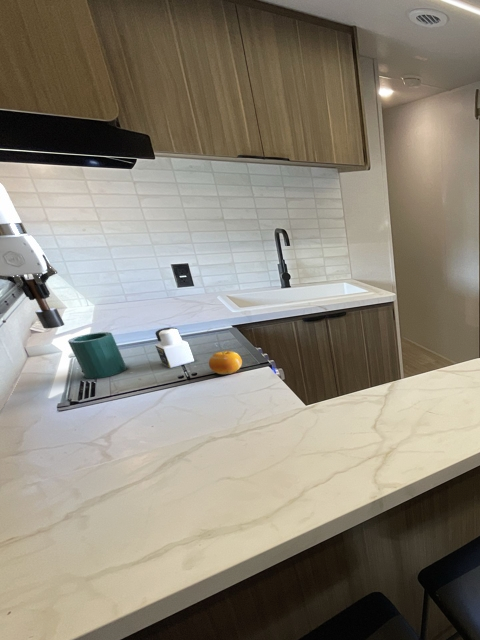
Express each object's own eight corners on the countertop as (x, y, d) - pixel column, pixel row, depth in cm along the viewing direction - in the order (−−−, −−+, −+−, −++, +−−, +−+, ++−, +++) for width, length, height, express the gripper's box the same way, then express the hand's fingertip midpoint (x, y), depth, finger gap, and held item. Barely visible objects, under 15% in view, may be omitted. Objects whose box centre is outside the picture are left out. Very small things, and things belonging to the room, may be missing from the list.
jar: (76, 378, 126) (58, 342, 121) (106, 366, 135) (90, 332, 130) (106, 378, 126) (90, 342, 121) (134, 366, 135) (120, 332, 130)
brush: (39, 328, 117) (13, 280, 111) (54, 324, 121) (30, 277, 115) (53, 328, 117) (28, 280, 111) (68, 323, 121) (45, 277, 115)
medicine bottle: (162, 363, 136) (148, 330, 131) (186, 357, 142) (174, 324, 137) (170, 368, 132) (156, 333, 128) (194, 361, 138) (182, 328, 133)
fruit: (251, 358, 130) (229, 340, 126) (232, 376, 124) (209, 359, 120) (240, 365, 135) (218, 348, 131) (222, 383, 129) (199, 366, 125)
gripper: (-46, 234, 102) (-6, 305, 109) (38, 230, 108) (71, 297, 116) (-29, 232, 108) (8, 299, 115) (50, 228, 114) (80, 292, 122)
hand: (39, 298), depth 116 cm, fingers closed on brush
